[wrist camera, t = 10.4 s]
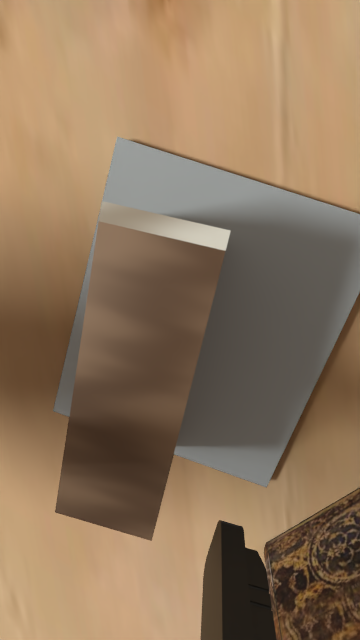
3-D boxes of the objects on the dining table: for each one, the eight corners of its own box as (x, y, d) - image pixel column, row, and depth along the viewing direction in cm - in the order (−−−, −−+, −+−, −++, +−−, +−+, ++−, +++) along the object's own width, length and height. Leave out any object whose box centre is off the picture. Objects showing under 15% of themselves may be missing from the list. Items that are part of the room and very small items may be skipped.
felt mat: (58, 405, 19) (53, 411, 19) (120, 140, 15) (117, 136, 15) (265, 479, 19) (266, 487, 18) (385, 224, 15) (392, 224, 14)
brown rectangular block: (55, 512, 13) (101, 201, 10) (106, 428, 19) (145, 215, 16) (151, 540, 13) (230, 230, 10) (173, 446, 18) (227, 233, 15)
